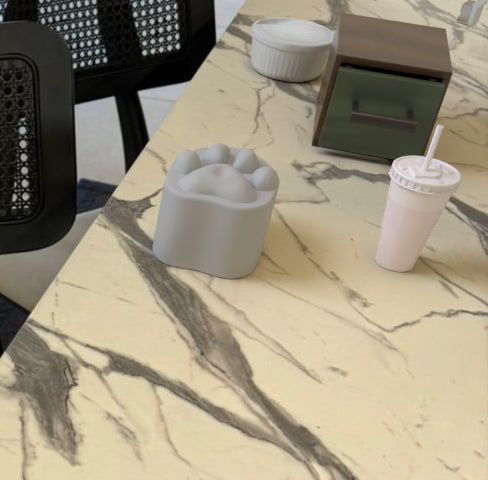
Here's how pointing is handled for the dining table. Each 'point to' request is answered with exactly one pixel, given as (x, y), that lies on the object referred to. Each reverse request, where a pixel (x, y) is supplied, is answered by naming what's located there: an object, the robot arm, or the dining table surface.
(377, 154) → the drawer
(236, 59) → the dining table surface
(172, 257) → the lumpy-topped squat cylinder
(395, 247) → the smoothie
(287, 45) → the ramekin
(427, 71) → the cabinet
